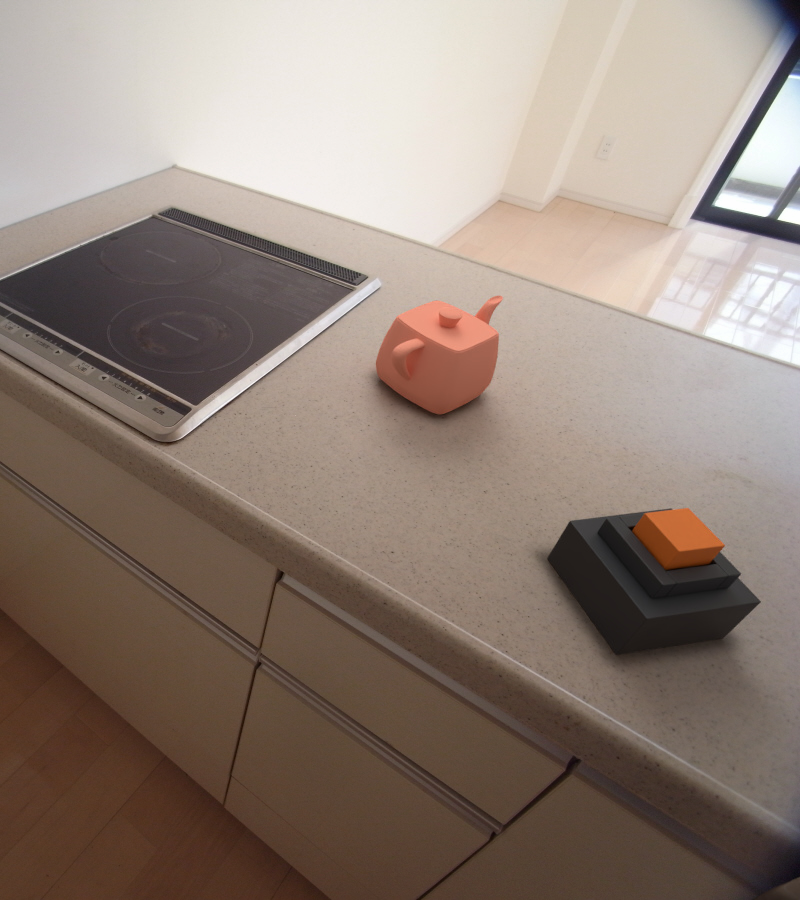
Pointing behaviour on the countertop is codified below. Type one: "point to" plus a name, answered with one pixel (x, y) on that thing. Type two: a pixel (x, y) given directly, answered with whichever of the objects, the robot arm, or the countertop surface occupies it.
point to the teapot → (440, 355)
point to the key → (677, 538)
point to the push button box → (646, 588)
